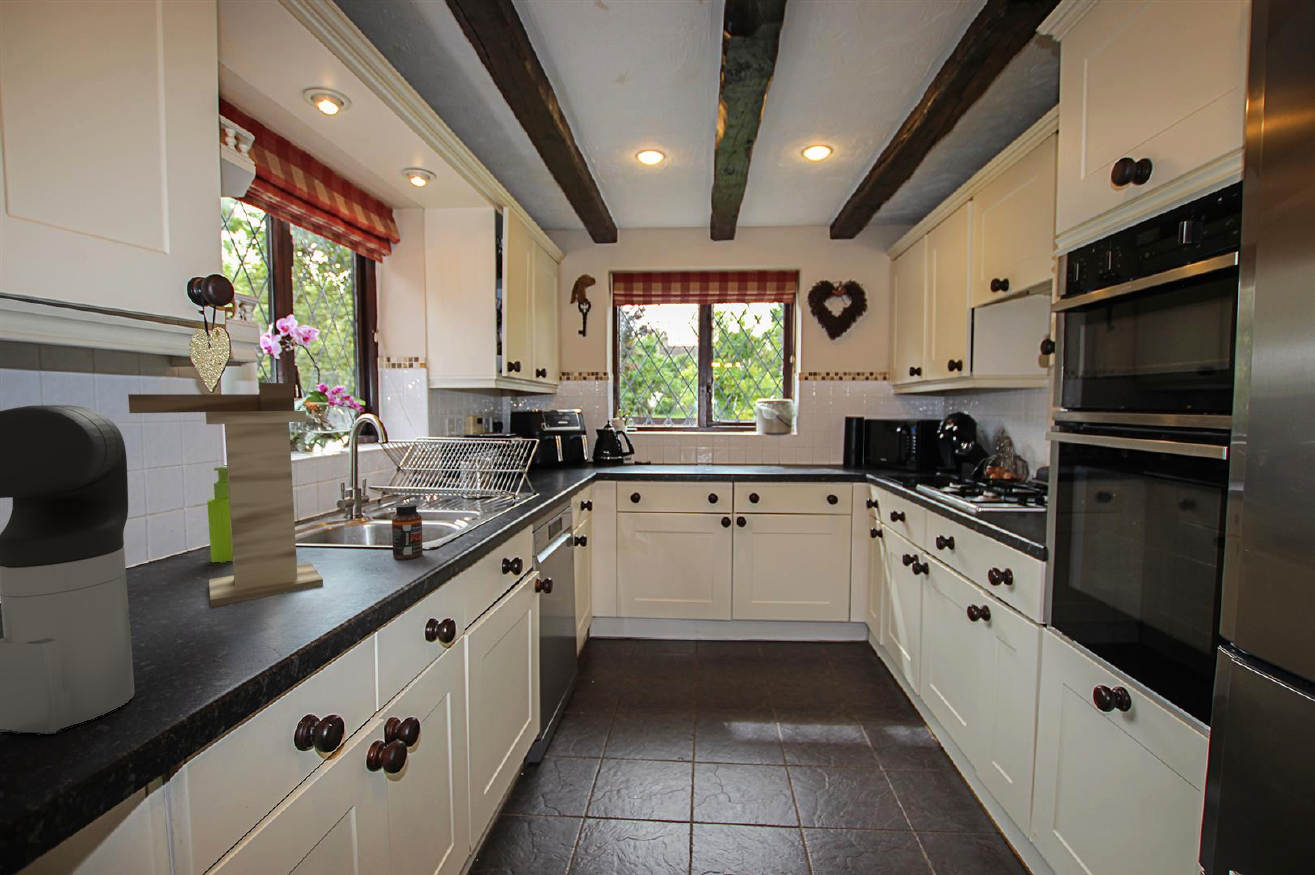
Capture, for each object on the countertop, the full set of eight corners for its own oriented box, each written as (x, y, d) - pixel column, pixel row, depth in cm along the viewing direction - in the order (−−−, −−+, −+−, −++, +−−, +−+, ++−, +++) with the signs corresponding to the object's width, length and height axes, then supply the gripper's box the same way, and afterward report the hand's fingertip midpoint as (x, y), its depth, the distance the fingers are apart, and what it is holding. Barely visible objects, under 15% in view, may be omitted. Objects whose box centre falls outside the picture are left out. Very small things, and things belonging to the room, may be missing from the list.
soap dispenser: (226, 564, 115) (220, 469, 113) (204, 561, 117) (198, 468, 116) (255, 556, 120) (249, 465, 119) (234, 553, 123) (228, 464, 121)
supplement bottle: (415, 560, 116) (413, 507, 116) (387, 560, 116) (385, 507, 116) (427, 552, 122) (425, 502, 121) (401, 552, 122) (399, 502, 122)
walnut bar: (294, 410, 100) (293, 383, 99) (128, 413, 87) (126, 381, 86) (293, 410, 104) (291, 384, 103) (133, 412, 91) (131, 382, 90)
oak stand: (323, 585, 101) (314, 410, 99) (210, 607, 90) (198, 412, 88) (311, 568, 111) (302, 410, 109) (209, 585, 101) (198, 411, 99)
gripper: (-154, 464, 67) (16, 398, 76) (-105, 455, 78) (38, 399, 87) (-99, 512, 70) (59, 444, 79) (-60, 498, 81) (75, 439, 89)
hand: (48, 420), depth 83 cm, fingers open, 8 cm apart
